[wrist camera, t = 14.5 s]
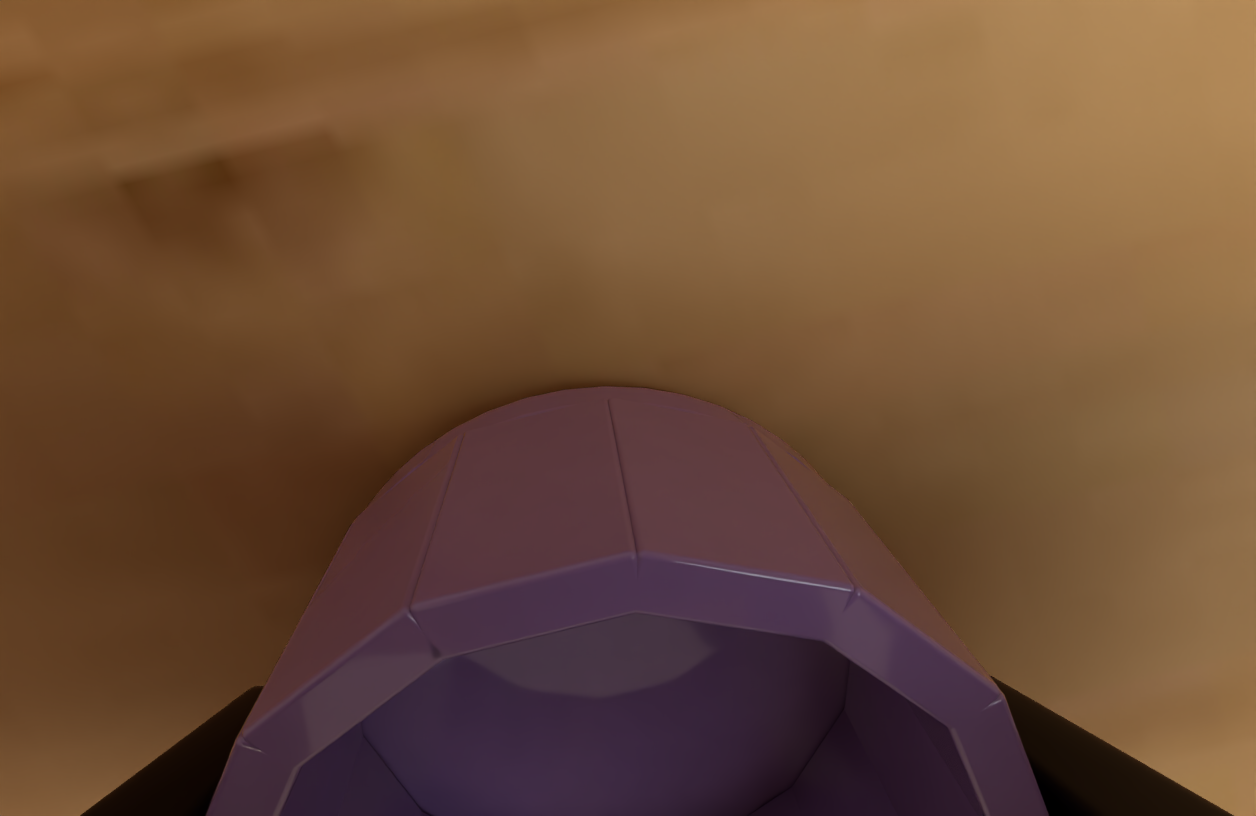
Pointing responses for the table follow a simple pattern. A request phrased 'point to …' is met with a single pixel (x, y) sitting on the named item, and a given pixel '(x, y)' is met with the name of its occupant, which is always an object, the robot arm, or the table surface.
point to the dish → (621, 640)
